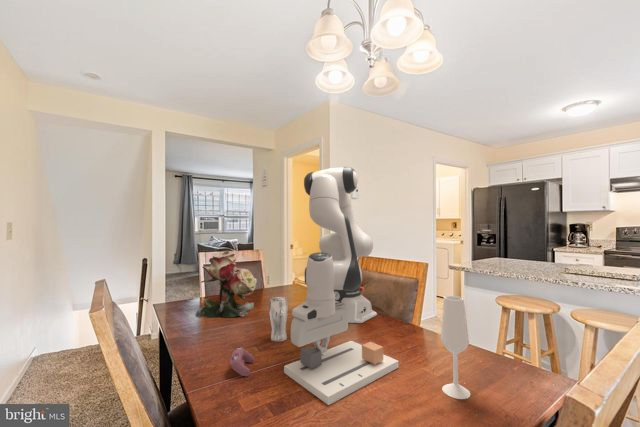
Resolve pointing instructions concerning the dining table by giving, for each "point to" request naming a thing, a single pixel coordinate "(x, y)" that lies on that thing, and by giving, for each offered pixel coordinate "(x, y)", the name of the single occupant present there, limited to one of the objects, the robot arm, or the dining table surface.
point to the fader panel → (339, 372)
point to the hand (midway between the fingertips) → (321, 352)
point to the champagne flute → (454, 340)
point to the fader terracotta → (372, 352)
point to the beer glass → (278, 318)
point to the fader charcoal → (311, 357)
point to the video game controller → (241, 361)
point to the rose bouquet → (228, 287)
